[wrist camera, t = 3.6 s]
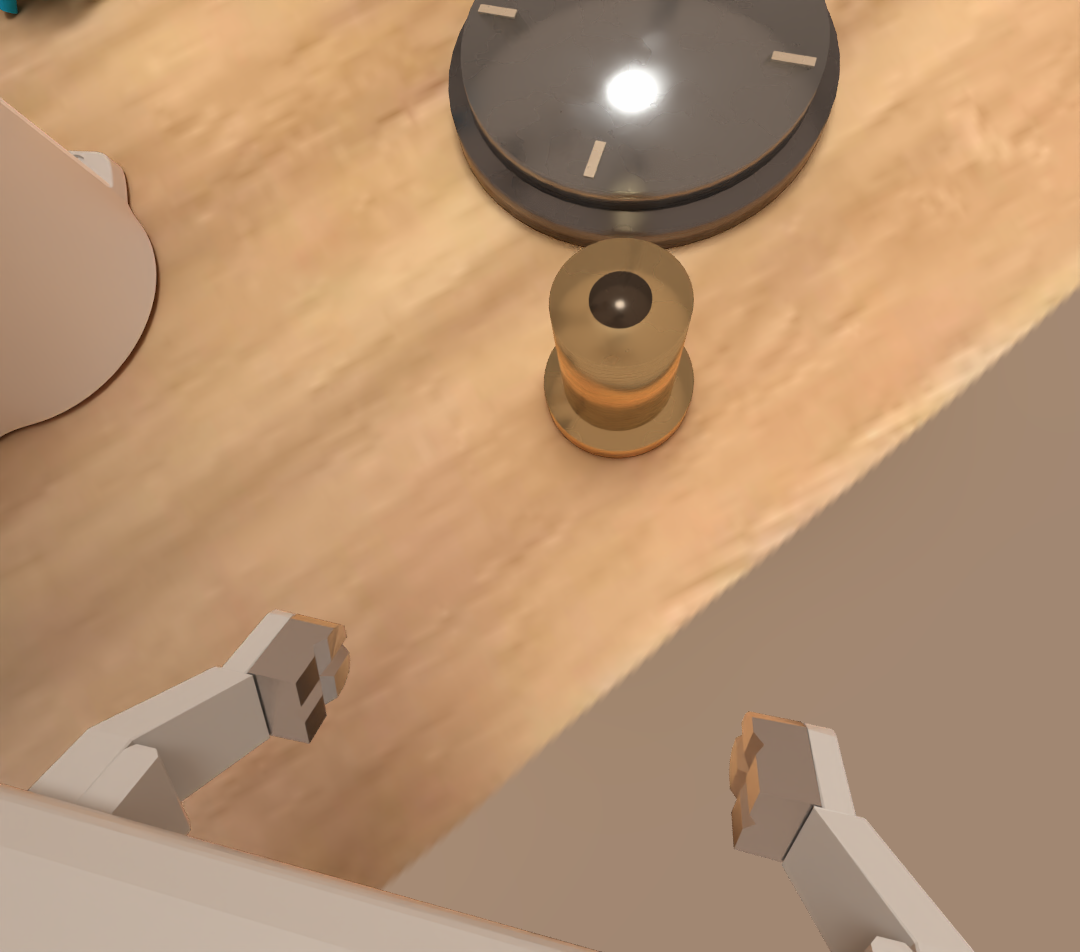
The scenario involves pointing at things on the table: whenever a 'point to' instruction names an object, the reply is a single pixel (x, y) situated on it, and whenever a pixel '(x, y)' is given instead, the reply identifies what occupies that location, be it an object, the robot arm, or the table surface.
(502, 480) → the table surface
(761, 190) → the turntable base
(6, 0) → the gear
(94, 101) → the table surface
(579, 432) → the brass hub
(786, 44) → the turntable platter
